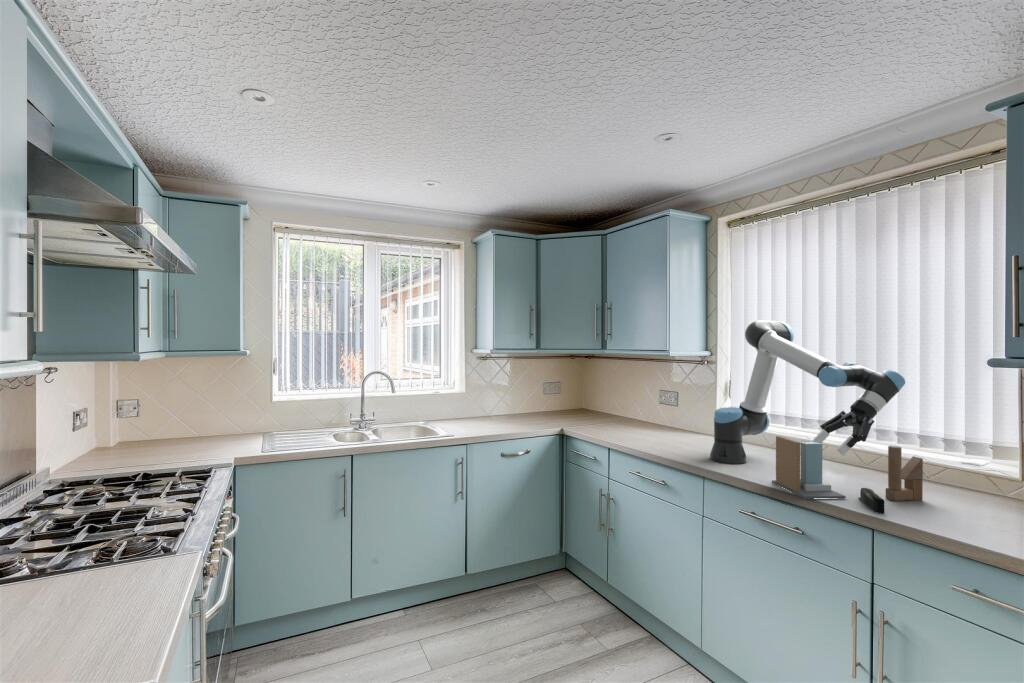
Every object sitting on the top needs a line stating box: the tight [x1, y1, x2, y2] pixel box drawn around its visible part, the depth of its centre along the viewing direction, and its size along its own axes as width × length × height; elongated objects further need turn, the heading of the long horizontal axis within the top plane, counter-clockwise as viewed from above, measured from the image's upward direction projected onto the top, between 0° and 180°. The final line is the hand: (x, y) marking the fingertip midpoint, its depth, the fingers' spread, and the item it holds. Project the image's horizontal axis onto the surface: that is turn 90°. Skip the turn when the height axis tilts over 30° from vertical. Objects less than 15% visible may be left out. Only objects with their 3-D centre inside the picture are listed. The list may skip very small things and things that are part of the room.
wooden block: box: [885, 445, 924, 502], centre depth 167 cm, size 4×11×18 cm, turn 97°
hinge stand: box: [771, 435, 847, 500], centre depth 177 cm, size 20×14×18 cm
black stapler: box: [857, 487, 885, 514], centre depth 160 cm, size 5×3×15 cm
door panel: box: [800, 441, 823, 488], centre depth 177 cm, size 3×6×16 cm, turn 93°
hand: (826, 448), depth 177 cm, fingers open, 13 cm apart
